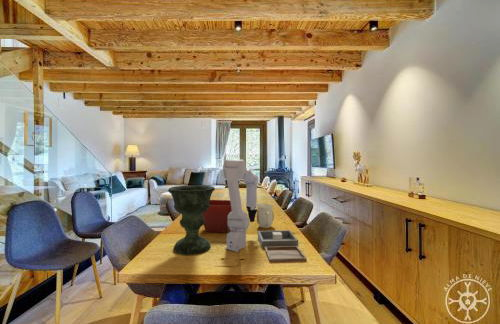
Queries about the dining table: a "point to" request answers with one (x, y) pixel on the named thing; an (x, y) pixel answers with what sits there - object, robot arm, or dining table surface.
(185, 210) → the goblet
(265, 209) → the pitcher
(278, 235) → the block
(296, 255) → the tray
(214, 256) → the dining table surface
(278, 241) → the bin
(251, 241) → the dining table surface
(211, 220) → the plant pot
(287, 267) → the dining table surface
